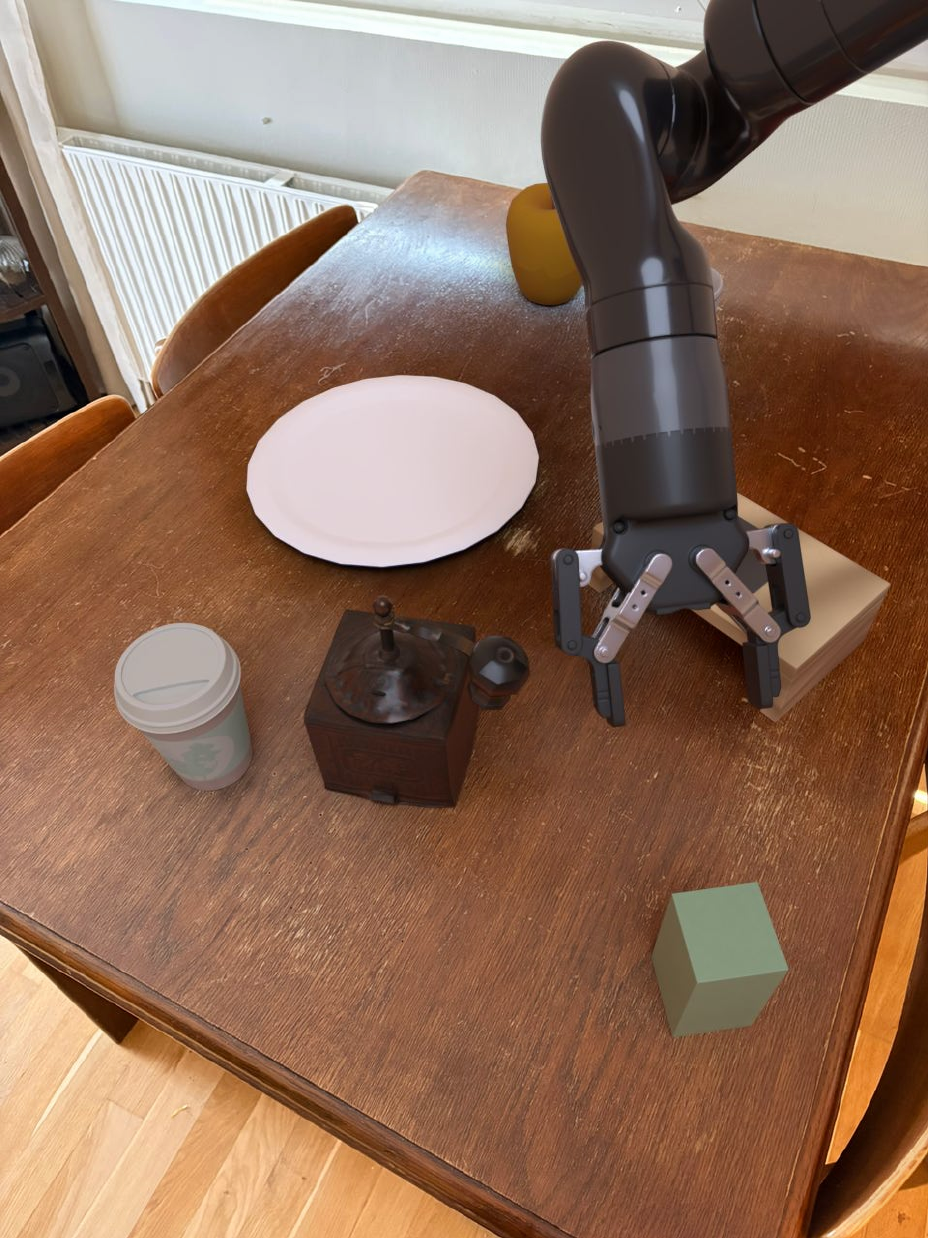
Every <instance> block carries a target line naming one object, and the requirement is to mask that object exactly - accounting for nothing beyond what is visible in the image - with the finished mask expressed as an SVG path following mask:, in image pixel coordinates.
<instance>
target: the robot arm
mask: <svg viewBox="0 0 928 1238" xmlns="http://www.w3.org/2000/svg"><path fill="white" fill-rule="evenodd" d="M702 38H703V46H704V48H703V49H701V50H700V51H699V52H698V53H697V54H696V55H694V56H693V57H691V58H690V59H688V60H687V61H685V62H683V63H681V64H679V65H677V66H673V65H671V64H669V63H667V62H665V61H663V60H661V59H659V58H657V57H654V56H653V55H651V54H649V53H647V52H646V51H643V50H641V49H640V48H639V47H635V46H633V45H631V44H628V43H625V42H621V41H615V40H598V41H593V42H591V43H588V44H586V45H583V46H582V47H580V48H578V49H577V50H576V51H574V52H573V53H571V55H570V56H569V57H567V59H566V60H564V62H563V63H562V64H561V65H560V67H559V68H558V70H557V71H556V73H555V75H554V76H553V78H552V81H551V83H550V85H549V88H548V91H547V93H546V96H545V101H544V106H543V109H542V113H541V121H540V148H541V151H540V152H541V160H542V165H543V170H544V175H545V179H546V183H548V186H549V190H550V193H551V196H552V199H553V203H554V206H555V209H556V212H557V215H558V218H559V221H560V224H561V226H562V229H563V232H564V235H565V238H566V241H567V244H568V247H569V250H570V253H571V256H572V258H573V261H574V263H575V265H576V268H577V270H578V273H579V275H580V278H581V281H582V289H583V293H584V309H585V320H586V321H585V322H586V331H587V341H588V349H589V358H590V360H591V361H590V410H591V423H590V432H591V438H592V439H593V443H594V451H595V462H596V471H597V480H598V490H599V498H600V499H599V500H600V508H601V519H602V521H603V529H604V533H603V539H602V543H601V545H600V547H599V549H593V550H591V549H577V550H575V549H572V548H557V549H555V550H554V551H553V552H552V553H551V555H550V572H551V573H550V574H551V593H552V595H551V596H552V597H551V598H552V612H553V613H552V617H553V636H554V645H555V647H556V648H557V649H558V650H560V651H561V652H563V653H564V654H566V655H567V656H571V657H572V656H573V657H577V658H581V659H585V660H586V661H587V663H588V665H589V674H590V684H591V694H592V703H593V708H594V709H595V712H596V713H597V715H599V716H600V717H601V718H602V719H605V721H606V723H607V724H608V725H609V726H610V727H611V728H621V727H625V726H626V722H627V721H626V712H625V711H626V710H625V702H624V701H625V700H624V692H623V691H624V690H623V683H622V672H621V663H620V662H619V661H617V660H616V659H615V657H616V655H617V653H618V652H619V650H620V649H621V647H622V646H623V643H624V642H625V641H626V639H627V637H628V636H629V634H630V633H631V632H632V631H633V630H634V629H635V628H636V626H637V625H638V623H639V621H640V619H641V618H642V617H643V615H644V614H645V613H647V614H651V615H654V616H664V615H670V614H671V615H672V614H673V613H676V612H678V611H681V610H683V609H685V610H691V609H692V610H705V609H711V606H713V605H714V604H716V605H717V606H718V607H719V608H720V609H721V610H722V611H723V612H724V613H726V614H727V615H728V616H729V617H730V618H731V619H732V620H733V621H734V622H735V623H736V624H737V625H738V626H739V627H740V629H741V630H742V631H743V632H744V633H745V634H746V635H747V640H748V642H742V645H741V647H742V656H743V667H744V678H745V687H746V688H745V689H746V697H747V698H746V699H747V702H748V704H749V706H751V707H753V708H755V709H758V710H760V709H766V708H772V707H773V697H779V694H780V691H781V678H780V666H779V655H778V642H779V640H780V638H781V637H782V636H783V635H784V634H786V633H788V632H790V631H791V630H793V629H795V628H803V627H805V626H807V625H808V624H809V622H810V619H811V614H810V607H809V600H808V594H807V587H806V580H805V573H804V566H803V560H802V553H801V546H800V539H799V532H798V529H799V528H798V527H797V526H796V525H795V524H794V523H791V522H788V523H775V524H769V525H767V526H765V527H764V528H762V529H756V530H751V531H745V530H744V528H743V527H742V525H741V523H740V520H739V517H738V498H737V493H738V489H737V478H736V468H735V467H736V466H735V456H734V446H733V445H734V443H733V434H732V424H731V423H732V421H731V412H730V401H729V391H728V382H727V376H726V372H725V367H724V363H723V359H722V356H721V350H720V343H719V340H718V339H719V335H718V324H717V323H718V322H717V312H715V301H714V291H713V281H712V273H711V267H712V266H711V263H710V258H709V254H708V252H707V250H706V248H705V246H704V244H703V243H702V242H701V241H700V240H699V239H698V238H697V237H696V236H695V235H694V234H693V233H692V232H690V231H689V230H688V229H687V228H686V227H685V226H684V225H683V224H682V223H681V222H680V221H679V219H678V218H677V216H676V214H675V212H674V209H673V206H674V205H677V204H680V203H682V202H684V201H688V200H689V199H691V198H694V197H696V196H697V195H699V194H701V193H703V192H704V191H706V190H708V189H709V188H711V187H712V186H713V185H715V184H716V183H717V182H719V181H720V180H721V179H723V177H725V176H726V175H727V174H729V172H731V171H732V170H733V169H735V167H737V166H738V165H739V164H740V163H742V162H743V160H745V159H746V158H748V156H749V155H751V154H752V153H753V152H754V151H755V150H757V149H758V148H759V147H760V146H761V145H762V144H764V142H766V141H767V140H768V139H769V138H770V137H771V136H772V135H773V134H774V133H775V132H776V131H777V130H778V129H779V128H780V127H781V126H782V125H783V124H784V123H785V122H787V120H789V119H790V118H791V117H794V116H795V115H798V114H799V113H802V112H803V111H805V110H807V109H809V108H811V107H813V106H815V105H817V104H819V103H820V102H822V101H824V100H826V99H828V98H829V97H831V96H833V95H834V94H836V93H838V92H840V91H841V90H843V89H846V88H847V87H849V86H851V85H852V84H854V83H857V81H860V80H862V79H863V78H865V77H867V76H868V75H870V74H871V73H873V72H875V71H878V69H881V68H882V67H884V66H885V65H888V64H890V63H891V62H893V61H894V60H896V59H897V58H899V57H901V56H903V55H905V54H906V53H908V52H910V51H911V50H913V49H914V48H916V47H918V46H920V45H921V44H923V43H925V42H926V41H928V0H709V2H708V4H707V7H706V10H705V13H704V17H703V26H702ZM797 528H798V529H797ZM749 549H751V550H752V551H753V552H754V554H755V557H756V559H757V560H758V561H759V562H760V563H763V564H765V566H766V573H767V579H768V586H769V592H770V599H771V606H772V611H770V612H768V613H767V612H766V611H765V610H764V609H763V608H762V607H761V606H760V604H759V603H758V599H757V598H756V597H755V596H754V595H753V594H752V593H751V592H750V590H749V589H748V588H747V587H746V586H745V585H744V584H743V583H742V582H741V581H740V580H739V579H738V577H737V576H736V575H735V574H736V572H737V570H738V568H739V567H740V565H741V563H742V561H743V560H744V558H745V556H746V554H747V552H748V550H749ZM598 566H600V568H601V569H602V570H603V571H604V572H605V574H606V575H607V576H608V577H609V578H610V579H611V580H612V581H613V582H614V583H613V584H614V585H615V586H616V587H617V589H616V590H615V592H614V593H613V596H612V597H611V599H610V600H609V602H608V603H607V606H606V607H605V609H604V610H603V613H602V617H601V619H600V621H599V623H598V624H597V626H596V628H595V630H594V631H593V633H592V635H591V636H590V635H586V634H583V621H582V619H583V618H582V599H581V598H582V597H581V596H582V595H581V588H582V587H586V586H588V583H589V582H590V580H591V575H592V572H593V570H594V569H595V568H596V567H598ZM692 610H691V611H692Z"/></svg>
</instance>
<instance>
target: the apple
mask: <svg viewBox="0 0 928 1238" xmlns="http://www.w3.org/2000/svg"><path fill="white" fill-rule="evenodd" d="M505 232H506V239H507V248H508V253H509V258H510V259H509V260H510V264H511V269H512V272H513V273H512V274H513V276H514V279H515V282H516V284H517V286H518V289H519V290H520V292H521V294H523V296H524V297H525V298H526V299H527V300H529V301H531V302H533V303H535V304H539V305H545V306H559V305H561V304H564V303H566V302H568V301H570V300H571V299H572V298H574V297H575V296H576V295H577V293H578V292H579V291H580V290H581V288H582V287H583V284H582V281H581V278H580V275H579V273H578V270H577V268H576V265H575V263H574V261H573V258H572V256H571V253H570V250H569V247H568V244H567V241H566V238H565V235H564V232H563V229H562V226H561V224H560V221H559V218H558V215H557V212H556V209H555V206H554V203H553V199H552V196H551V193H550V190H549V186H548V183H547V182H542V183H541V182H540V183H533V184H532V185H529V186H526V187H525V188H524V189H522V190H521V191H520V192H519V193H518V194H517V195H515V196H514V198H512V200H511V202H510V204H509V207H508V210H507V214H506V220H505Z"/></svg>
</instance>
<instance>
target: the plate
mask: <svg viewBox="0 0 928 1238" xmlns="http://www.w3.org/2000/svg"><path fill="white" fill-rule="evenodd" d="M250 457H251V458H250V460H249V461H248V463H247V475H246V493H247V495H248V498H249V500H250V504H251V506H252V509H253V511H254V514H255V516H256V518H257V519H258V520H259V521H260V523H262V524H263V525H264V526H265V527H266V529H267V530H268V531H269V532H270V533H271V534H272V536H274V538H276V539H277V540H279V541H281V542H283V544H286V545H287V546H290V547H291V548H292V549H295V550H296V551H297V552H299V553H301V554H303V555H306V556H309V557H313V558H316V559H318V560H323V561H325V562H329V563H333V564H337V565H339V566H349V567H360V568H361V567H362V568H374V569H375V568H376V569H388V568H396V567H404V566H405V567H406V566H413V565H419V564H421V565H422V564H426V563H430V562H433V561H436V560H439V559H442V558H446V557H448V556H452V555H455V554H458V553H461V552H464V551H466V550H467V549H469V548H471V547H473V546H475V545H477V544H479V543H480V542H482V541H484V540H485V539H487V538H489V537H491V536H493V535H494V534H496V533H498V532H499V531H500V530H501V529H502V528H503V527H504V526H505V525H506V524H507V523H508V522H509V521H510V520H511V519H512V518H513V517H515V516H516V515H517V513H519V512H520V511H521V510H522V508H523V506H524V505H525V503H526V502H527V499H528V498H529V496H530V494H531V492H532V490H533V489H534V486H535V485H536V482H537V473H538V466H539V459H540V455H539V452H538V448H537V445H536V442H535V437H534V434H533V432H532V430H531V429H530V427H528V425H527V424H526V422H525V421H524V420H523V418H522V417H521V415H520V414H519V412H517V411H516V410H515V409H513V408H512V407H511V406H509V405H508V404H506V403H505V402H504V401H502V400H501V399H500V398H499V397H498V396H496V395H494V394H492V393H489V392H487V391H485V390H482V389H480V388H478V387H476V386H474V385H471V384H468V383H466V382H460V381H456V380H453V379H448V378H447V379H446V378H444V377H443V378H442V377H438V376H428V375H427V376H425V375H404V374H399V375H391V376H381V377H372V378H370V377H369V378H365V379H361V380H357V381H353V382H349V383H346V384H343V385H338V386H335V387H332V388H329V389H327V390H325V391H323V392H321V393H319V394H316V395H315V396H312V397H310V398H308V399H306V400H303V401H301V402H300V403H299V404H297V405H296V406H295V407H294V408H292V409H290V410H289V411H287V412H286V413H284V414H283V415H282V416H281V417H279V418H278V419H276V420H275V422H274V423H273V424H272V425H271V426H270V428H269V429H268V430H266V432H265V433H264V434H263V435H262V437H261V438H260V439H258V442H257V444H256V446H255V448H254V451H253V453H252V455H251V456H250Z"/></svg>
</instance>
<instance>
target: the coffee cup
mask: <svg viewBox="0 0 928 1238" xmlns="http://www.w3.org/2000/svg"><path fill="white" fill-rule="evenodd" d="M241 674H242V667H241V663H240V660H239V657H238V655H237V654H236V652H235V651H234V648H232V646H231V645H230V644H229V642H228V641H226V640H225V638H223V637H221V636H219V635H218V634H217V633H216V632H215V631H213V630H212V629H211V628H208V627H206V626H204V625H201V624H199V623H198V624H197V623H192V622H174V623H169V624H164V625H161V626H159V627H156V628H153V629H151V630H149V631H147V632H145V633H143V634H142V635H140V636H139V637H138V638H136V639H135V640H133V642H132V643H130V644H129V645H128V646H127V647H126V649H125V650H124V651H123V652H122V654H121V656H120V657H119V660H118V661H117V664H116V666H115V670H114V683H113V695H114V700H115V705H116V707H117V710H118V712H119V713H120V715H121V717H122V718H123V719H124V721H126V722H127V723H128V724H130V726H132V727H134V728H136V729H138V730H139V731H140V733H141V734H142V735H143V736H144V737H145V739H146V740H147V741H148V742H149V743H150V744H151V746H152V747H153V748H154V749H155V750H156V751H157V752H158V754H159V755H160V757H162V759H164V761H165V762H166V763H167V764H168V765H169V767H170V768H171V769H172V770H173V772H174V773H176V775H177V776H178V777H179V778H180V779H181V781H182V782H183V783H184V784H186V785H187V787H188V786H189V787H190V788H191V789H194V790H197V791H202V792H213V791H217V790H221V789H224V788H227V787H229V786H231V785H233V784H234V783H236V782H237V781H238V780H239V779H241V778H242V777H243V775H244V774H245V773H246V772H247V771H248V769H249V767H250V765H251V763H252V760H253V755H254V752H253V751H254V750H253V744H252V738H251V734H250V729H249V723H248V718H247V714H246V708H245V704H244V698H243V694H242V689H241V684H240V682H241V677H242V675H241Z"/></svg>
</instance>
